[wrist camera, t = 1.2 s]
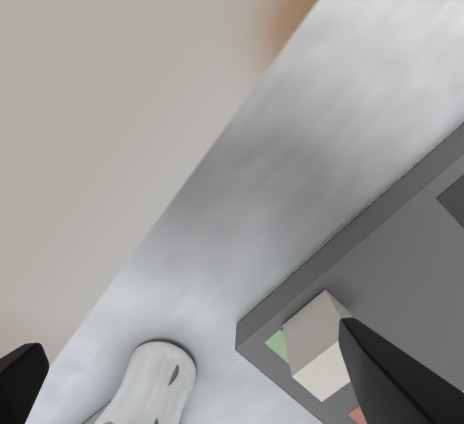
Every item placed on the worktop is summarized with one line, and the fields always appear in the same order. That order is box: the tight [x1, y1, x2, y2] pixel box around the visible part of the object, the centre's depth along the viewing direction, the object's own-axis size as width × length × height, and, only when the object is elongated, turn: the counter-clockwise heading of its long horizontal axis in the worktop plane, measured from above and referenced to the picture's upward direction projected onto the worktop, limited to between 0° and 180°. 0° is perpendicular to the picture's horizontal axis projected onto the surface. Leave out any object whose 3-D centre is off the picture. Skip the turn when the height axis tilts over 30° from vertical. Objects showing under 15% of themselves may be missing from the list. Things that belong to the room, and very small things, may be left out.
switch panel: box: [235, 123, 464, 424], centre depth 20 cm, size 14×24×3 cm, turn 137°
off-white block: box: [282, 289, 352, 402], centre depth 17 cm, size 2×4×4 cm, turn 137°
